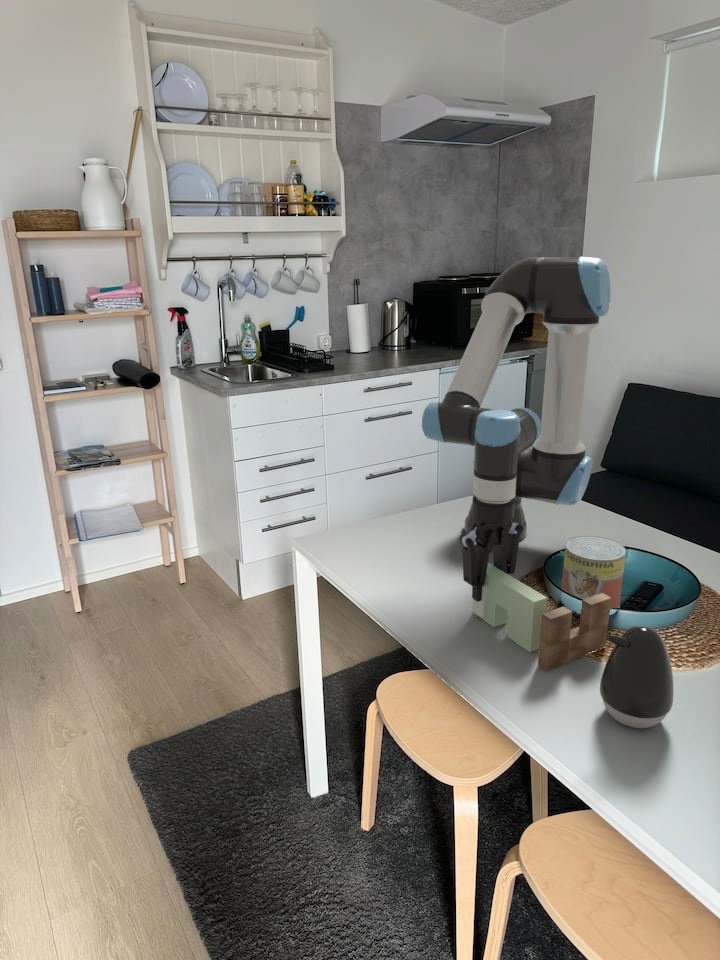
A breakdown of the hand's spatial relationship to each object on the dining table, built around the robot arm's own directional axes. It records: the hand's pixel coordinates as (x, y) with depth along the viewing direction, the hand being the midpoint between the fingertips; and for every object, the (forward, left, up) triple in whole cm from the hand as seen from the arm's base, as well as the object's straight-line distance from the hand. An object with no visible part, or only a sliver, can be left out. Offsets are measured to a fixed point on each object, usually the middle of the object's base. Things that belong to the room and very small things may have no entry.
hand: (487, 611), depth 132 cm
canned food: (-21, +6, -1) cm, 22 cm away
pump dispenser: (0, +34, -1) cm, 34 cm away
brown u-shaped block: (-4, +18, -1) cm, 19 cm away
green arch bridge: (0, +6, -1) cm, 6 cm away
